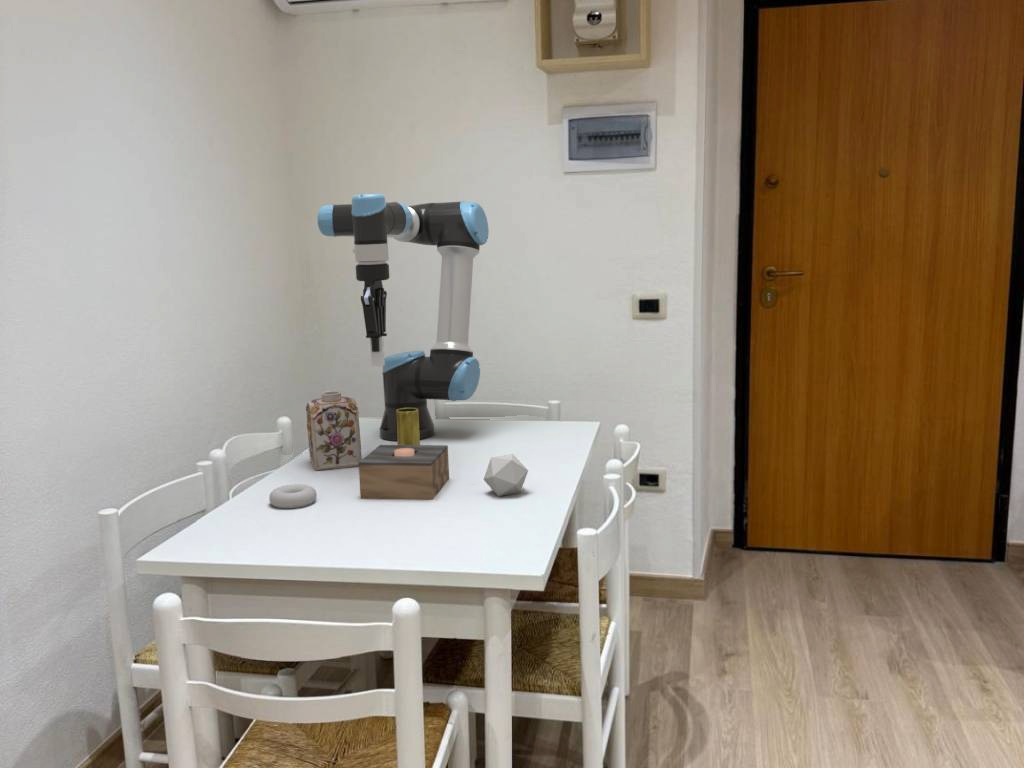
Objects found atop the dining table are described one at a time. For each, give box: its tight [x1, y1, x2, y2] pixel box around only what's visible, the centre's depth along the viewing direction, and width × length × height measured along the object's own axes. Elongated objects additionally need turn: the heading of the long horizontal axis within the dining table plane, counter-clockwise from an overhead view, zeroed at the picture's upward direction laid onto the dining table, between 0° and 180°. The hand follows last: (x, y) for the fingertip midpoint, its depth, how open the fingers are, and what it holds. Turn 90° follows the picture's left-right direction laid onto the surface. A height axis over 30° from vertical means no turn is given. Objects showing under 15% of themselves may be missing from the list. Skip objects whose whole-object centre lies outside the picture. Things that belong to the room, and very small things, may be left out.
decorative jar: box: [305, 390, 362, 472], centre depth 237 cm, size 12×12×18 cm
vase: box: [396, 408, 421, 445], centre depth 231 cm, size 6×6×14 cm
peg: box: [394, 448, 415, 456], centre depth 214 cm, size 4×4×8 cm
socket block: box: [358, 444, 450, 500], centre depth 214 cm, size 16×16×8 cm
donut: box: [268, 483, 318, 509], centre depth 206 cm, size 10×3×10 cm
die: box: [483, 453, 529, 497], centre depth 208 cm, size 8×9×10 cm
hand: (378, 365), depth 223 cm, fingers closed
